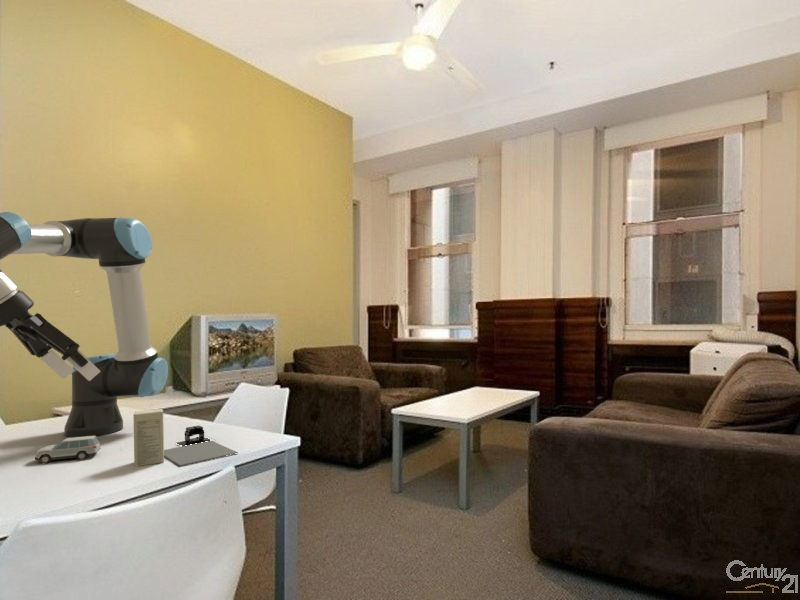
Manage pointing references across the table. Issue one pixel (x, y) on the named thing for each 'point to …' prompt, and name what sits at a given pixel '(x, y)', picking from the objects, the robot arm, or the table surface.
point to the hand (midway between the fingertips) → (81, 375)
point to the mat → (196, 453)
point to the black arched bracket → (190, 432)
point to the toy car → (69, 449)
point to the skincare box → (148, 437)
